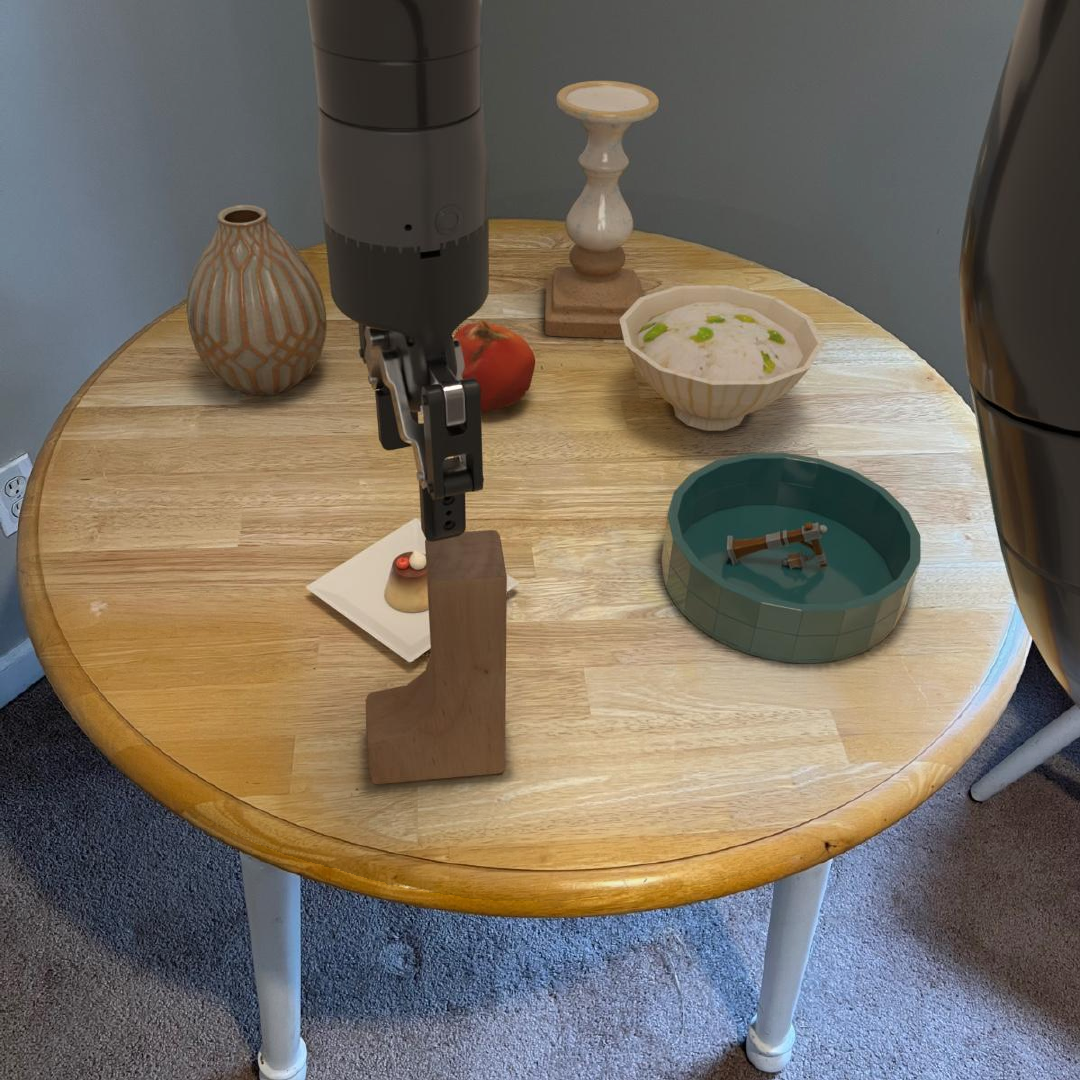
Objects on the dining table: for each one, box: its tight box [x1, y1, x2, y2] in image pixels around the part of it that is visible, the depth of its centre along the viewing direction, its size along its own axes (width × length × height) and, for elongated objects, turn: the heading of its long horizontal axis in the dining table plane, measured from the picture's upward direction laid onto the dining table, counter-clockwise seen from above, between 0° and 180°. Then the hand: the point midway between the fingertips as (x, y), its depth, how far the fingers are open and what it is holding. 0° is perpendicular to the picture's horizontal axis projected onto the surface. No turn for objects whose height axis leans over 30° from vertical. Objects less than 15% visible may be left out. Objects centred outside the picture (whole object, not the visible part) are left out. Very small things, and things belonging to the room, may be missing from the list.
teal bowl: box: [660, 452, 922, 664], centre depth 88 cm, size 20×20×6 cm
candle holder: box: [544, 80, 660, 340], centre depth 116 cm, size 11×11×24 cm
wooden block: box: [365, 529, 508, 785], centre depth 69 cm, size 9×4×18 cm, turn 97°
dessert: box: [305, 517, 520, 663], centre depth 86 cm, size 12×12×5 cm
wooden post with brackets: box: [727, 522, 827, 569], centre depth 90 cm, size 2×8×4 cm, turn 81°
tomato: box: [452, 319, 536, 413], centre depth 107 cm, size 9×9×8 cm
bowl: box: [619, 285, 825, 432], centre depth 105 cm, size 19×19×10 cm
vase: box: [186, 204, 328, 397], centre depth 105 cm, size 13×13×18 cm
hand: (420, 488), depth 60 cm, fingers open, 8 cm apart
